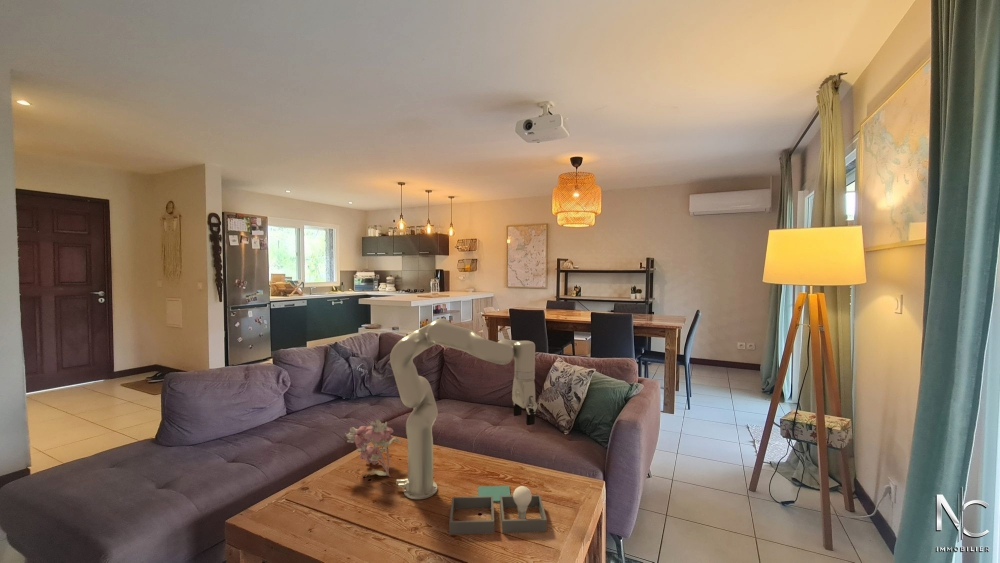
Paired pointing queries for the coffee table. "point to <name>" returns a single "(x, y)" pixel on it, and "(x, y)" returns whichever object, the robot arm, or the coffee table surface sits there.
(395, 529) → the coffee table surface
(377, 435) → the flower
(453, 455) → the coffee table surface
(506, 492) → the mat
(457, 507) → the box
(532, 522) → the box
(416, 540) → the coffee table surface
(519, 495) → the lightbulb
